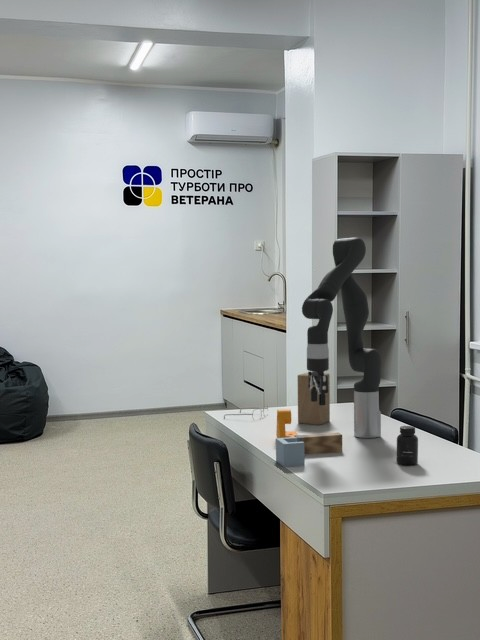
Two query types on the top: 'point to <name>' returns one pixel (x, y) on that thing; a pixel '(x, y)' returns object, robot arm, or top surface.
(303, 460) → the grey u-channel
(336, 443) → the rail
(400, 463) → the supplement bottle
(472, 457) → the top surface
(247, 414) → the eyeglasses
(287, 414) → the bracket
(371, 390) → the robot arm
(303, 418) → the wooden block
